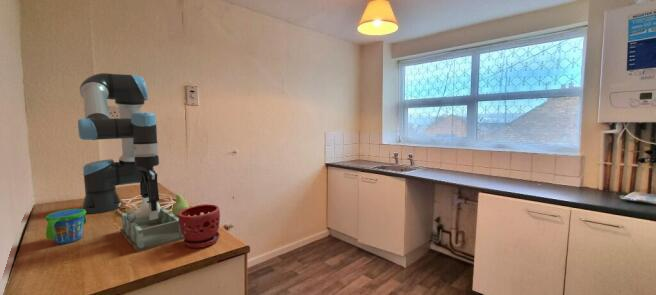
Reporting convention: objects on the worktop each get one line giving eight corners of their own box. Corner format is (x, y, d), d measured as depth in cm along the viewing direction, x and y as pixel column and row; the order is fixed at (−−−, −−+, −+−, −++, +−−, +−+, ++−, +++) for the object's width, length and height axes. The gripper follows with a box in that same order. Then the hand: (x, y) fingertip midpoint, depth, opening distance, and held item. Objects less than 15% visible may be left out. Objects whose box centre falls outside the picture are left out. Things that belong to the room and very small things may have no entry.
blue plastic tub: (73, 231, 112) (70, 206, 111) (100, 231, 112) (98, 206, 111) (32, 250, 97) (29, 220, 96) (64, 249, 97) (61, 220, 96)
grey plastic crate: (120, 231, 112) (118, 214, 111) (163, 221, 123) (162, 205, 122) (137, 252, 94) (135, 231, 94) (185, 238, 105) (184, 219, 104)
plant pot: (203, 232, 111) (202, 202, 109) (228, 239, 105) (227, 206, 103) (171, 246, 99) (169, 212, 98) (197, 254, 93) (195, 218, 92)
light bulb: (125, 211, 99) (158, 196, 107) (121, 210, 104) (153, 196, 112) (133, 228, 100) (165, 212, 108) (128, 227, 105) (160, 212, 113)
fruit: (191, 217, 128) (189, 190, 127) (172, 220, 124) (170, 193, 123) (188, 212, 134) (187, 187, 133) (170, 216, 130) (168, 189, 128)
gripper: (127, 154, 109) (132, 213, 112) (141, 158, 96) (147, 226, 98) (150, 152, 115) (154, 208, 117) (166, 156, 101) (170, 220, 104)
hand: (151, 216), depth 108 cm, fingers closed on light bulb, 6 cm apart
